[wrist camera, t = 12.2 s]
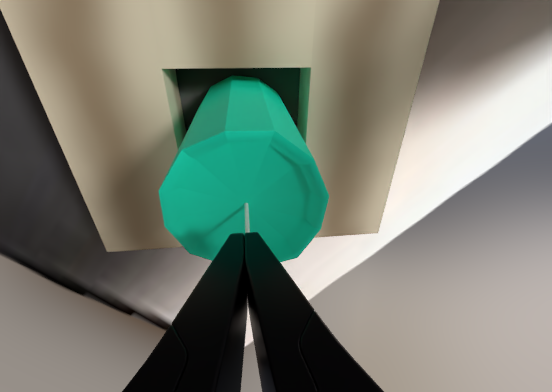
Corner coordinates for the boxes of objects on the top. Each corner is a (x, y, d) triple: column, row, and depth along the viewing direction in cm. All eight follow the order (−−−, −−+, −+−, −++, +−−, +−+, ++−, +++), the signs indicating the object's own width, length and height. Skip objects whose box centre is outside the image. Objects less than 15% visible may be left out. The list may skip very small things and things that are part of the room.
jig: (413, -24, 15) (448, -33, 13) (363, 210, 24) (377, 233, 21) (26, -33, 13) (-24, -47, 11) (122, 225, 22) (107, 252, 19)
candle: (304, 126, 19) (375, 240, 9) (241, 177, 21) (243, 323, 11) (245, 52, 16) (256, 98, 6) (178, 118, 18) (99, 240, 8)
